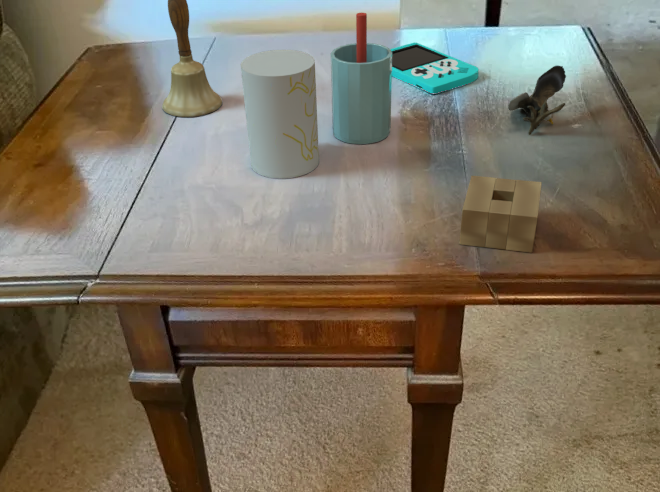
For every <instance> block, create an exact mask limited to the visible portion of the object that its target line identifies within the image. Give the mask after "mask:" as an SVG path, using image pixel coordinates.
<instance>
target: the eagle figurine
mask: <svg viewBox="0 0 660 492" xmlns="http://www.w3.org/2000/svg"><path fill="white" fill-rule="evenodd" d="M566 78H567V75H566V70H565V67H563V65H554V66H552V67H550V68H549V69H548V70H546V71H545V72H544V73H542V75H540V76H539V77H538V78H537V79H536V83H535V86H534V89H533V93H532V94H529V93H528V92H523V93H521V94H518V95H516V96H514V97H513V98H511V99H510V101H509V103H508V106H507V107H508V108H507V109H508V111H511V112H514V111H516V110H518V109H522V110H523V111H525V114H526V116H525V117H524V116H523V118H522V120H524V121H528V122H529V123H530V125H529V130H528V133H527V134H528V136H530V135H532V133H533V132H534V131H535V130H537V128H538V127H539V126H540V124H541V123H542V121H546V122H548V123H549V124H551V125H552V126H553V125H554V121H553V114H555V113H558V112H559V111H561V110H562V109H563V108H564V107H565V106H566V102H562V103H561V104H559V105H558V106H556V107H554V108H552V109H549V105H548V100H549V99H550V98H551V97H554V95H555V94H556V93H558V92H560V91H561V90H562V89H563V87H564V83H565V82H566Z"/></svg>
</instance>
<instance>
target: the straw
mask: <svg viewBox="0 0 660 492" xmlns="http://www.w3.org/2000/svg"><path fill="white" fill-rule="evenodd" d="M367 18H368V14H367V13H366V12H357V13H356V14H355V26H356V28H355V29H356V32H355V33H356V35H355V36H356V37H355V38H356V39H355V40H356V42H355V43H356V46H357V63H367V43H368V37H367V36H368V35H367V34H368V19H367Z"/></svg>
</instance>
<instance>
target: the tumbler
mask: <svg viewBox="0 0 660 492" xmlns="http://www.w3.org/2000/svg"><path fill="white" fill-rule="evenodd" d="M390 49H391V48H390V47H387V46H386V45H384V44H379V43H373V42H367V63H357V46H356V42H354V43H348V44H343V45H340V46H338V47H336V48H334V49H332V51H331V52H330V77H331V78H330V81H331V82H330V83H331V84H330V85H331V114H332V115H331V116H332V117H331V118H332V133H333V136H334V137H335V139H337V140H339V141H341V142H344V143H347V144H352V145H368V144H369V145H370V144H375V143H377V142H381V141H383V140H385V139H386V138H387V137H389V136H390V135H391V128H392V127H391V126H392V89H393V88H392V87H393V84H392V82H393V80H392V79H393V76H392V52H391V50H390Z"/></svg>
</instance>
